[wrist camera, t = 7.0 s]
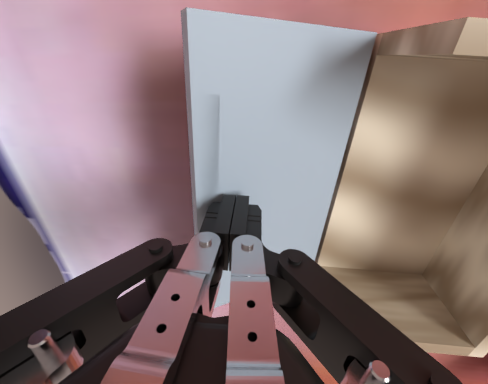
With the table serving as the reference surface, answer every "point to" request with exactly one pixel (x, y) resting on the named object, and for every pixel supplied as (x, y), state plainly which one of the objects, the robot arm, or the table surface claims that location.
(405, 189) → the box
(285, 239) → the cabinet door
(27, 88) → the table surface
